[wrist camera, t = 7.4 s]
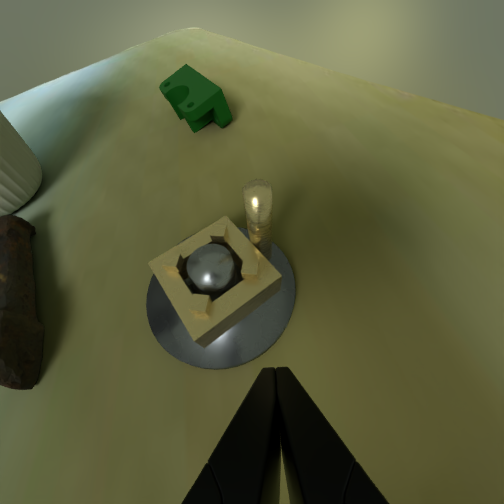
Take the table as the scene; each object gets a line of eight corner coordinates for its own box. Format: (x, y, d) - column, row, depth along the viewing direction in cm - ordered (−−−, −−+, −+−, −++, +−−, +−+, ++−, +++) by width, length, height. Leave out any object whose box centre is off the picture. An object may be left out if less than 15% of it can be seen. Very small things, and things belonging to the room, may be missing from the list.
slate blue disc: (300, 370, 19) (310, 363, 14) (133, 368, 20) (90, 360, 15) (289, 230, 26) (293, 194, 21) (167, 233, 27) (145, 200, 22)
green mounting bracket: (190, 137, 44) (155, 87, 39) (215, 118, 44) (184, 65, 39) (207, 145, 35) (164, 80, 29) (238, 121, 35) (201, 51, 29)
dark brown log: (7, 244, 28) (-37, 220, 24) (41, 229, 29) (4, 204, 25) (3, 407, 19) (-67, 411, 15) (54, 380, 20) (-1, 377, 16)
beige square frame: (297, 277, 21) (310, 217, 14) (204, 348, 19) (162, 319, 11) (245, 224, 25) (235, 155, 18) (162, 277, 22) (109, 222, 15)
